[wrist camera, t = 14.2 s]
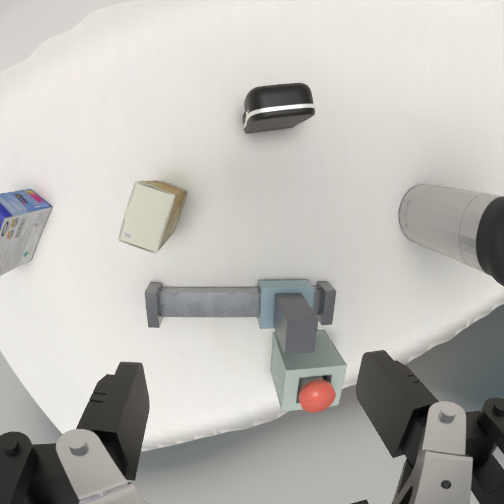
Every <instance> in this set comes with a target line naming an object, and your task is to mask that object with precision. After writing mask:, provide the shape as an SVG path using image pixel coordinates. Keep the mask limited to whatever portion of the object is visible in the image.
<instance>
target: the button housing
mask: <svg viewBox="0 0 504 504" xmlns="http://www.w3.org/2000/svg"><path fill="white" fill-rule="evenodd" d="M346 367H347V364H346V363H345V361H344V360H343V358H342V357H341V355H340V353H339V352H338V350H337V349H336V347H335V346H334V344H333V343H332V341H331V340H330V338H329V336H328V335H327V333H326V332H325V330H318V331H317V334H316V342H315V350H314V353H304V354H287V355H284V352H283V349H282V347H281V344H280V341H279V338H278V336H277V333H273V345H272V360H271V373H272V377H273V381H274V385H275V388H276V392H277V396H278V399H279V403H280V407H281V410H282V411H291V410H302V409H303V408H302V407H301V404H300V401H299V398H298V395H299V392H300V388H299V385H298V384H299V378H301V377H312V376H322V377H323V379H324V380H326V381H328V382H330V383H331V385H332V386H333V388H334V390H335V393H336V397H335V400H334V402H333V403H332V404H331V405H330V406H336V405H338V403H339V399H340V395H341V390H342V386H343V381H344V376H345V372H346Z"/></svg>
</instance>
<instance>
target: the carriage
mask: <svg viewBox="0 0 504 504" xmlns="http://www.w3.org/2000/svg"><path fill="white" fill-rule="evenodd" d="M259 289H260V313H259V317H257V319H258V323H259V326H260V329H263V328H275V330H276V333H277V336H278V338H279V341H280V344H281V347H282V349H283V352H284V355H287V354H304V353H314V350H315V342H316V334H317V326H318V317H317V316H316V314H315V313H314V311H313V310H312V305H313V295H314V287H313V285H312V284H311V283H310V282H309V280H259Z"/></svg>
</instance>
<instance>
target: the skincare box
mask: <svg viewBox="0 0 504 504" xmlns="http://www.w3.org/2000/svg"><path fill="white" fill-rule="evenodd" d="M186 194H187V190H184V189H182V188H179V187H176V186H173V185H171V184H168V183H165V182H162V181H136V182H135V184H134V187H133V190H132V193H131V196H130V199H129V203H128V206H127V209H126V213H125V216H124V220H123V223H122V227H121V231H120V235H119V238H118V240H119V241H121V242H124V243H126V244H129V245H132V246H134V247H137V248H140V249H143V250H146V251H149V252H153V253H157V252H158V251H159V249H160V248H161V247H162V246H163V244H164V243H165V242H166V241H167V240H168V238H169V237H170V236H171V235H172V234H173V232H174V230H175V227H176V224H177V222H178V219H179V216H180V213H181V210H182V207H183V204H184V200H185V197H186Z"/></svg>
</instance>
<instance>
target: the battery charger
mask: <svg viewBox="0 0 504 504" xmlns="http://www.w3.org/2000/svg"><path fill="white" fill-rule="evenodd" d="M314 114H315V105H314V104H313V98H312V93H311V90H310V88H309V87H308V86H307V85H306V84H303V83H291V84H279V85H269V86H261V87H256V88H254V89H252V90H251V91H250V92H249V93H248V95H247V96H246V99H245V113H244V116H243V124H244V125H243V128H244V130H245V132H246V133H253V132H260V131H267V130H275V129H283V128H291V127H294V126H295V125H297V124H299V123H301V122H303V121H305V120H307V119H309V118H310V117H312V116H313V115H314Z"/></svg>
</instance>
